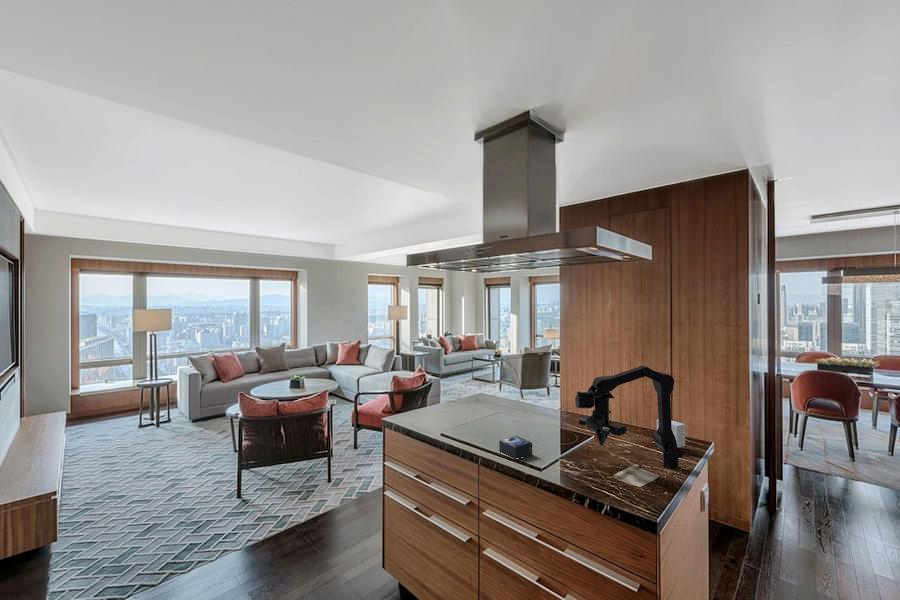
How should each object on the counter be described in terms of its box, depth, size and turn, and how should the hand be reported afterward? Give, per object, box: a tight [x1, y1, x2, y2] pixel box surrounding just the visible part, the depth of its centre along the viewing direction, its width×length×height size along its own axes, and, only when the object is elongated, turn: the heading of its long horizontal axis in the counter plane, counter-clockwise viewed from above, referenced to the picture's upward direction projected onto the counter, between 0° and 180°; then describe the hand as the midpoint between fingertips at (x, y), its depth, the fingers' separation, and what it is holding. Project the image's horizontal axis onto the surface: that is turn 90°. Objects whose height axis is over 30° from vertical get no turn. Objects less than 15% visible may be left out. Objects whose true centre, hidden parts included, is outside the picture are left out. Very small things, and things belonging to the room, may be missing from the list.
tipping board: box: [613, 463, 661, 488], centre depth 145 cm, size 16×10×2 cm, turn 126°
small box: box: [498, 435, 533, 459], centre depth 167 cm, size 11×6×10 cm
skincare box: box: [656, 419, 686, 449], centre depth 180 cm, size 10×6×10 cm, turn 27°
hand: (601, 445), depth 157 cm, fingers closed
